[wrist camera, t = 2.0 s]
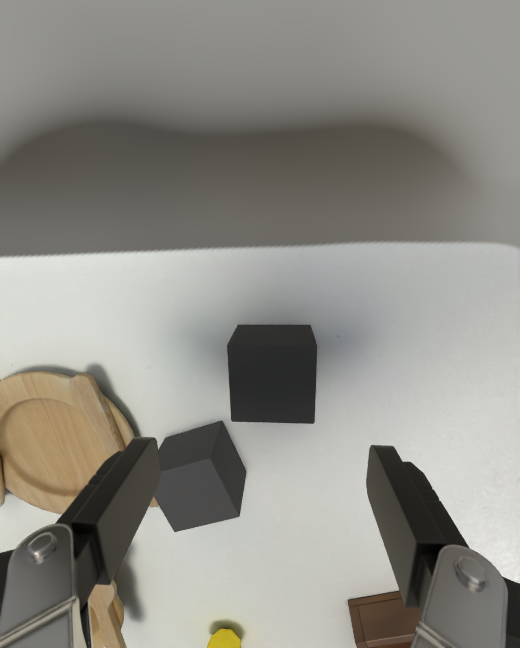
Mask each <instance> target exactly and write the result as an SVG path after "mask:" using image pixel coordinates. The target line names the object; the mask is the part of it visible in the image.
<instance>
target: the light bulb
mask: <svg viewBox="0 0 520 648" xmlns="http://www.w3.org/2000/svg"><path fill="white" fill-rule="evenodd" d="M207 648H241V642H240V639H239V638H238V637H237V635H236V634H235V633H234V632H233V630H231V629H220V630H218V631H217V632H216V633H215V634H214V635H212V636H211V638H210V640H209V643H208V646H207Z"/></svg>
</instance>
